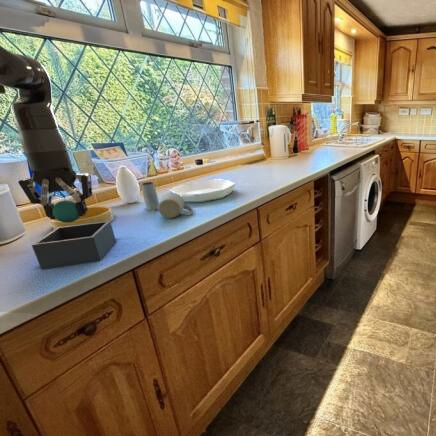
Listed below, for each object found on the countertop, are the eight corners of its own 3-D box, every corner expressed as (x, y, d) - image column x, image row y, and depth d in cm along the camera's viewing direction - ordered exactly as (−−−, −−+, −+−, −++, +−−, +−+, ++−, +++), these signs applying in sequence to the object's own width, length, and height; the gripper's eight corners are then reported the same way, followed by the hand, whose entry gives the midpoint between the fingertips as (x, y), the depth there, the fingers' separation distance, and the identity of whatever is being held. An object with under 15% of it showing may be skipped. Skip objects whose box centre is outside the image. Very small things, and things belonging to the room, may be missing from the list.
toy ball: (51, 227, 74) (43, 205, 72) (62, 219, 79) (55, 199, 77) (79, 223, 75) (71, 202, 73) (88, 217, 80) (81, 196, 78)
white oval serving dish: (214, 206, 118) (212, 195, 116) (155, 206, 121) (152, 195, 120) (245, 187, 146) (244, 178, 145) (197, 187, 150) (195, 178, 149)
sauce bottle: (132, 199, 132) (121, 158, 126) (147, 200, 130) (136, 158, 124) (116, 204, 125) (104, 161, 119) (131, 205, 123) (119, 161, 117)
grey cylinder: (153, 211, 114) (146, 185, 111) (144, 210, 116) (137, 184, 112) (162, 207, 118) (156, 182, 115) (154, 207, 120) (148, 181, 116)
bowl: (44, 237, 93) (39, 224, 92) (68, 220, 108) (64, 209, 106) (104, 229, 98) (101, 217, 96) (120, 214, 112) (117, 204, 111)
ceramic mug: (159, 220, 104) (154, 199, 101) (163, 213, 111) (159, 193, 108) (192, 217, 107) (188, 196, 104) (194, 210, 114) (191, 190, 111)
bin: (41, 269, 73) (31, 245, 71) (65, 249, 84) (57, 227, 82) (100, 260, 76) (93, 237, 74) (116, 241, 87) (110, 221, 85)
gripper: (-4, 153, 65) (25, 225, 71) (74, 148, 69) (96, 217, 75) (17, 149, 72) (42, 216, 78) (88, 145, 76) (107, 209, 82)
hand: (69, 216), depth 76 cm, fingers closed on toy ball, 5 cm apart
